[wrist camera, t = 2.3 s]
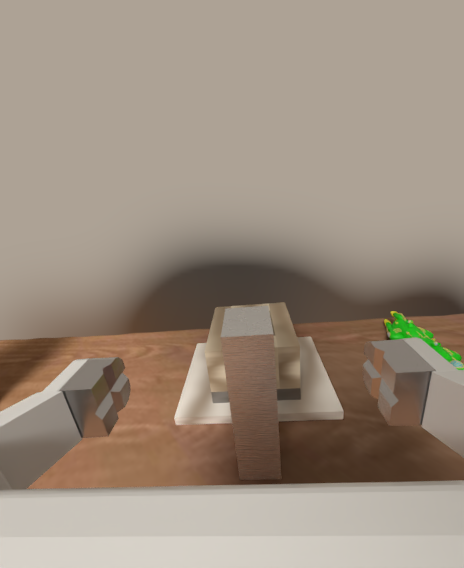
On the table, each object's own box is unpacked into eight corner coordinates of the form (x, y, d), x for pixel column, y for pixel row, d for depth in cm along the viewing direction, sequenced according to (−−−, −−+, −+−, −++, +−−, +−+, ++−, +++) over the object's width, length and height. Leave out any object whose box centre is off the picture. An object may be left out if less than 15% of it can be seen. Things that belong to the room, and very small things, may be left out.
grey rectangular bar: (239, 479, 25) (220, 337, 20) (240, 434, 30) (225, 308, 24) (281, 479, 25) (273, 334, 19) (275, 432, 29) (268, 305, 24)
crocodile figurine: (435, 402, 31) (442, 373, 30) (370, 327, 48) (372, 306, 47) (495, 400, 31) (504, 371, 29) (407, 325, 47) (410, 304, 46)
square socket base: (176, 425, 32) (162, 364, 29) (198, 349, 47) (190, 304, 44) (343, 419, 30) (347, 354, 27) (310, 342, 45) (310, 295, 42)
